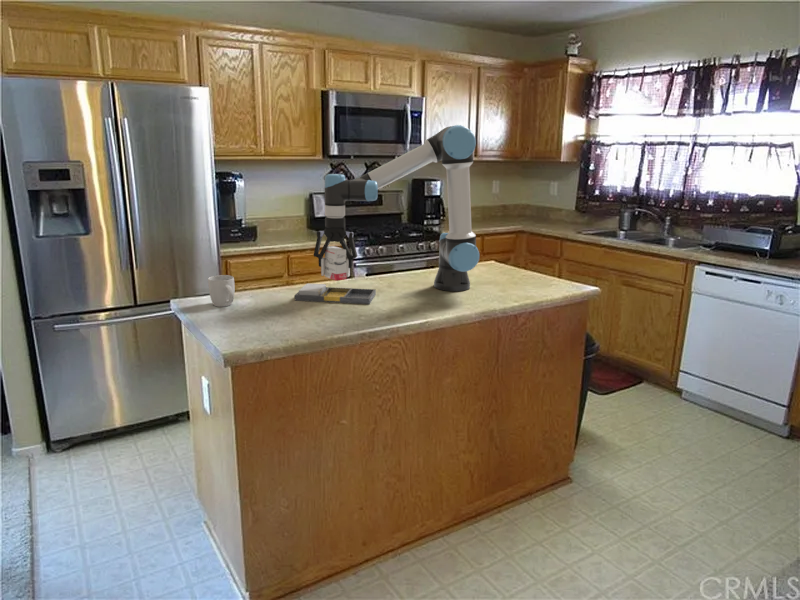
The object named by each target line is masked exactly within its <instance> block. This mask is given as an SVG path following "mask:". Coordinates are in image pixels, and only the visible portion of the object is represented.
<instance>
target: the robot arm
mask: <svg viewBox="0 0 800 600" xmlns="http://www.w3.org/2000/svg"><path fill="white" fill-rule="evenodd" d="M476 143H477V140H476V137H475V134H474V132H473V131H472V130H471V129H470V128H469V127H466V126H464V125H461V124H460V125H459V124H456V125H452V126H447V127H445V128H443V129H441V130H439V131H438V132H436V133H435V134H434V135H432V136H431V137H429V138H427V139H425V140H424V143H423V144H421V145H419V146H418V147H416V148H413V149H410V151H408V152H406V153H404V154H402V155H400V156H398V157H396V158H394V159H392V160H389V162H386V163H384V164H382V165H381V166H379V167H377V168H375V169H373V170H370V171H369V172H367V173H365V174H363V175H361V176H359V177H355V178H354V179H351V180H350V179H346V175H345V174H340V173H339V174H337V173H328V174H326V175H325V176H324V216H325V218H324V230H318V231H317V232H316V243H315V246H314V252H313V257H314V258H318V267H320V274H321V276H322V277H323V276H324V277H325V257H324V256H325V251H326V248H327V247H329V246H330V243H331V242H333V243H334V242H335V243H339V245H341V248H342V249H346V277H347V278H349V277H350V276H351V269H352V268H353V260H355V259H356V258H357V257H358V254H357V248H356V244H355V240H354V234H355V233H354V232H353V231H347V229H346V217H345V216H346V202H348V201H349V202H351V201H354V202H355V201H356V202H374V201H377V200H378V196H379V195H378V190H380V189H382V188H384V187H385V186H387V185H390V184H391V183H394V182H396V181H397V180H400V179H402V178H403V177H405V176H407V175H410V174H412V173H413V172H415V171H417V170H419V169H421V168H424V167H425V166H427V165H429V164H431V163H436V164H437V163H439V162H440V161H441V165H442V166H443V167H444V168H445V171H446V187H447V189H446V190H447V207H448V209H447V211H448V230H449V232H442V233H440V236H439V240H438V241H439V248H438V251H439V252H438V269H437V272H436V275H435V278H434V281H433V287H434V288H435V289H438V290H439V291H440V290H441V291H446V292H461V291H462V292H463V291H467V290H469V289H470V287H471V282H470V278H469V274H468V272H469V271H471V270H474V268H475V267H476V266H477V265H478V263H479V261H480V251H479V249H478V247H477V238H476V237H477V235H476V233H475V232H474V231H472V208H471V207H472V206H471V205H472V204H471V175H470V168H471V166H472V165H473V163H474V151H475V149H476V145H477V144H476ZM324 235H325V236H326V239H325V243H324V245H323V247H322V249H321V250H320V248H321V243H322V241H323V240H322V239H323V236H324ZM345 236H346V237H347V238H348V242H349V247H350V249H349V247H348V245H347V243H346V240H345ZM350 250H351V251H350Z"/></svg>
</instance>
